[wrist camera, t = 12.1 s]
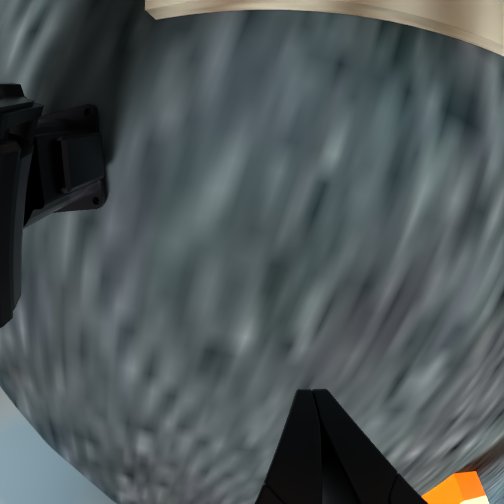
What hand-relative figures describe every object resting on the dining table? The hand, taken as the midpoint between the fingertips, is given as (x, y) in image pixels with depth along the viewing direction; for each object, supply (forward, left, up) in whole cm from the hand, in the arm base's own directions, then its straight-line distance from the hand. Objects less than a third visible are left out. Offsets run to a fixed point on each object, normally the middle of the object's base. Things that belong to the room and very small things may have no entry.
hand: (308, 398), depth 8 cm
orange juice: (+31, -45, -12) cm, 56 cm away
